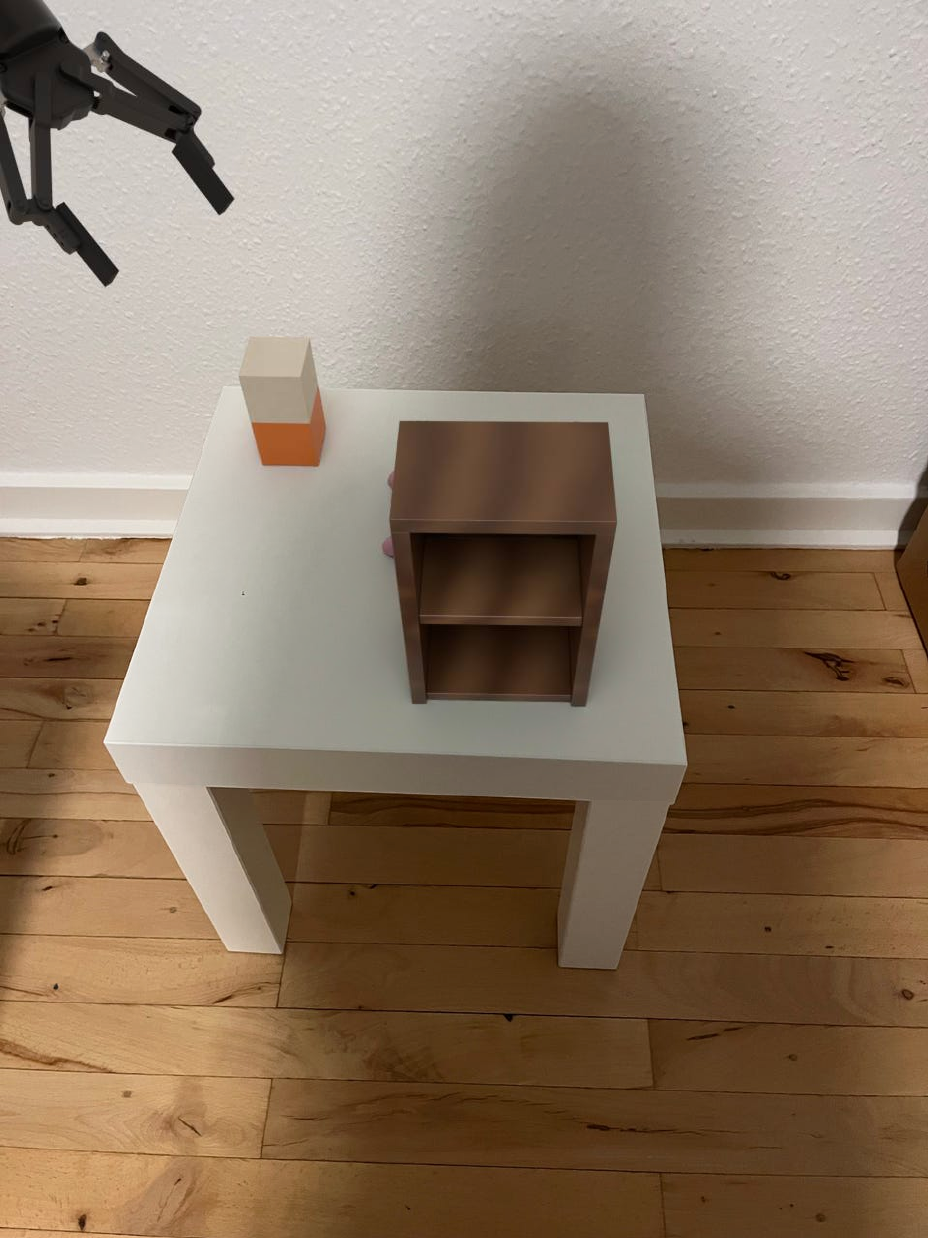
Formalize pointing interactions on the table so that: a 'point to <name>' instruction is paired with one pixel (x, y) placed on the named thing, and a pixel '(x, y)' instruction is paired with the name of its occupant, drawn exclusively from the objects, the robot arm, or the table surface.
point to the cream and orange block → (283, 400)
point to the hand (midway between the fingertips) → (172, 242)
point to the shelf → (502, 556)
